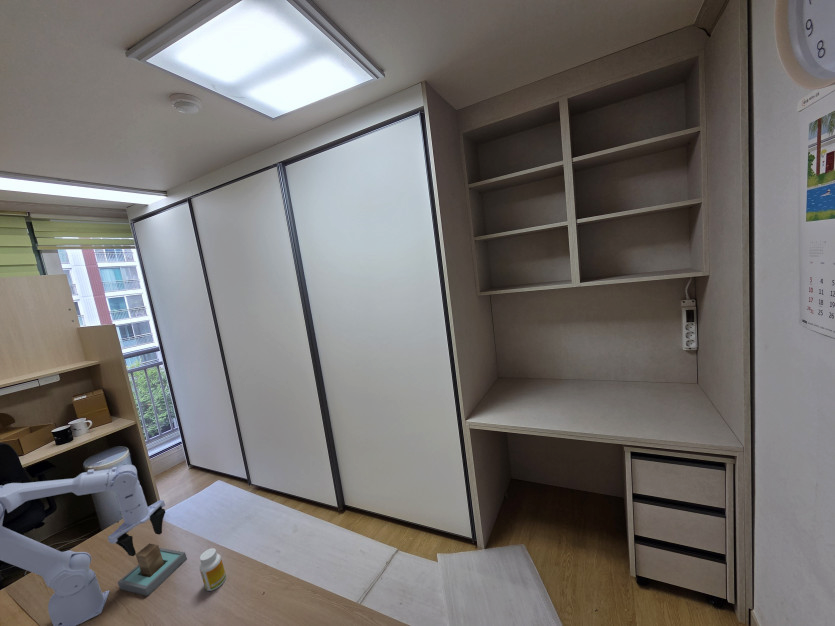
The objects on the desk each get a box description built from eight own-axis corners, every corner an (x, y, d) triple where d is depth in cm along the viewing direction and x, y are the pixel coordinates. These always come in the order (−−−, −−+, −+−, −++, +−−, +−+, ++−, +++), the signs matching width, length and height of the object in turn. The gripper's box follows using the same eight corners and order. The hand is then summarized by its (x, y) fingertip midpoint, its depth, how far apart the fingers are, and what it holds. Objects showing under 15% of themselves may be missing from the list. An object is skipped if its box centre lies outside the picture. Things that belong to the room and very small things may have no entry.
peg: (151, 579, 100) (144, 556, 99) (142, 577, 102) (135, 554, 100) (165, 567, 104) (158, 545, 103) (156, 565, 105) (149, 543, 104)
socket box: (147, 596, 95) (145, 589, 95) (119, 589, 99) (117, 582, 99) (187, 559, 107) (185, 552, 106) (160, 554, 110) (158, 547, 110)
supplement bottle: (230, 573, 99) (222, 545, 98) (218, 591, 94) (209, 562, 92) (214, 574, 100) (206, 546, 98) (200, 592, 94) (192, 562, 93)
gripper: (114, 525, 91) (128, 567, 94) (166, 488, 105) (178, 526, 107) (97, 522, 94) (112, 563, 96) (151, 487, 107) (162, 523, 109)
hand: (146, 543), depth 102 cm, fingers open, 7 cm apart
